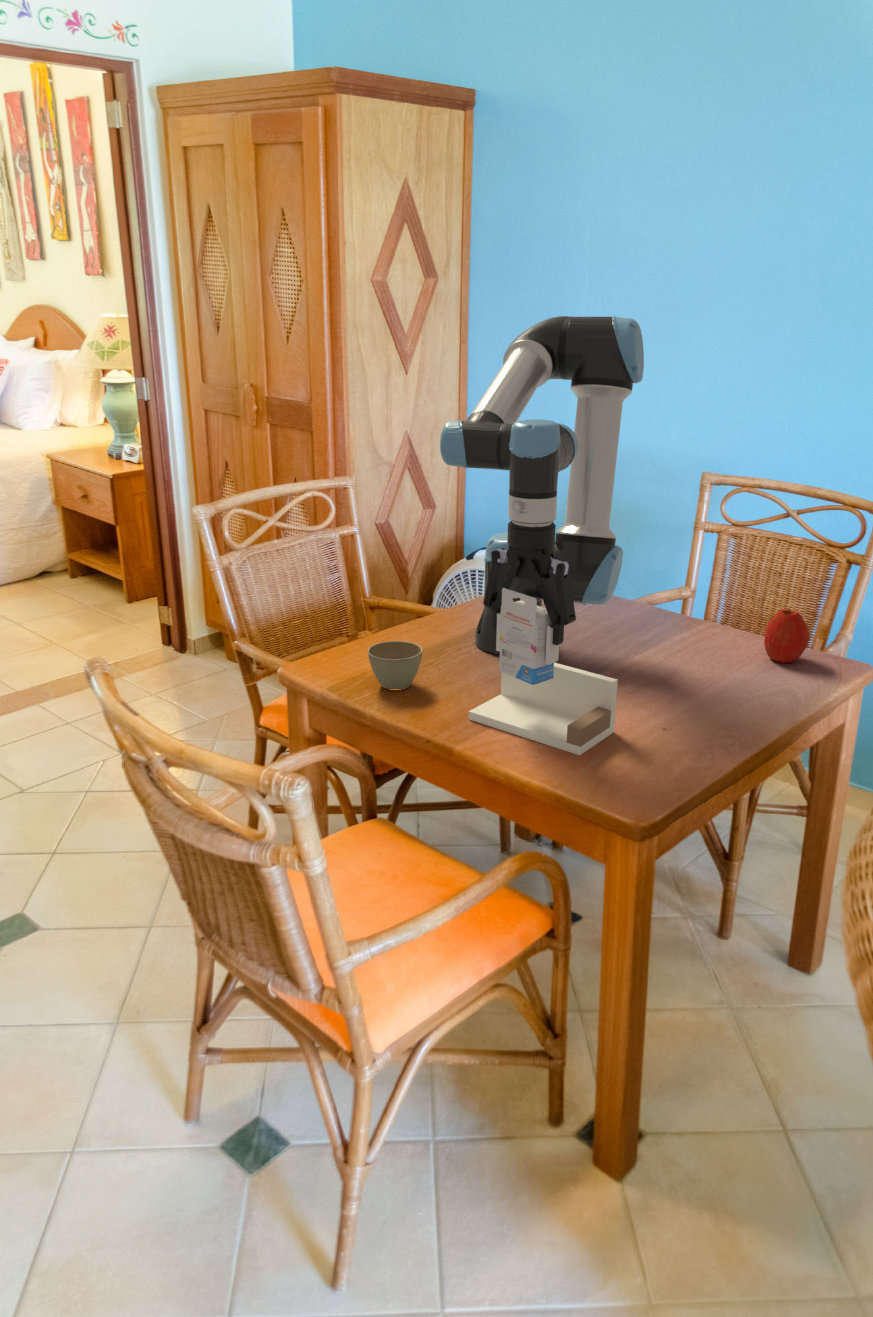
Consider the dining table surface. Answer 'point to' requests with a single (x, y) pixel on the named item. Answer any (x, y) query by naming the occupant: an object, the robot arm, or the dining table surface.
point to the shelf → (554, 709)
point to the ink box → (524, 638)
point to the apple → (786, 636)
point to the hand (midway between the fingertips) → (526, 655)
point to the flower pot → (395, 663)
